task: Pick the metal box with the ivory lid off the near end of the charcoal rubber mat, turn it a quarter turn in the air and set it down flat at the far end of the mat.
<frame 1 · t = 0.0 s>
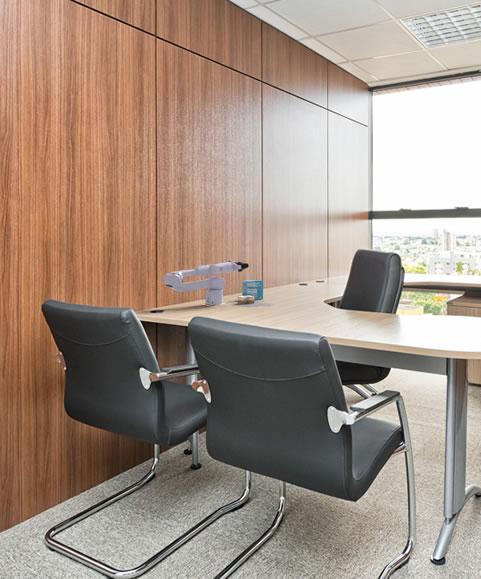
hand: (244, 264, 318), 22 cm above the table, tool horizontal, fingers open, 7 cm apart
desk mat: (252, 305, 307), on the table
data package: (252, 300, 329), on the table
metal box: (246, 303, 310), point 1 cm above the table, touching desk mat
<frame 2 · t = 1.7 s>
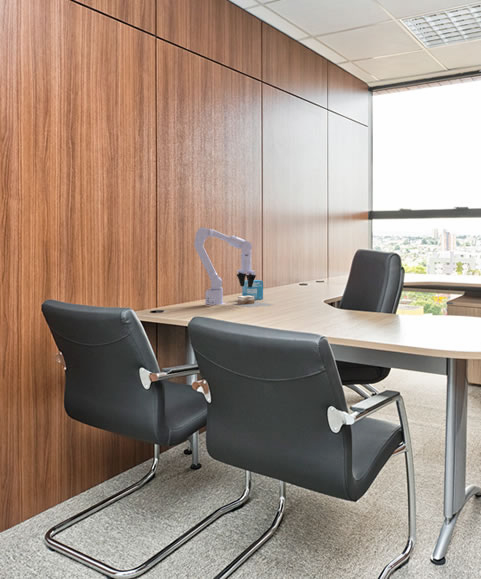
hand: (246, 286, 310), 10 cm above the table, tool pointing down, fingers open, 7 cm apart
nothing on the table moved.
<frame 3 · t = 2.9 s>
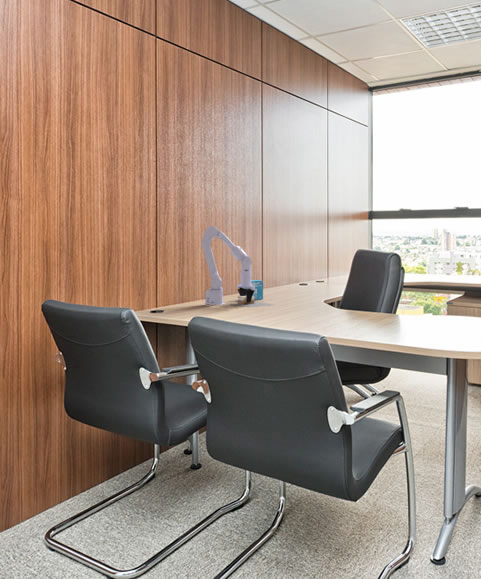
hand: (246, 301, 310), 2 cm above the table, tool pointing down, fingers closed on metal box, 5 cm apart
metal box: (246, 303, 310), point 1 cm above the table, touching desk mat, gripper
everything else where it was.
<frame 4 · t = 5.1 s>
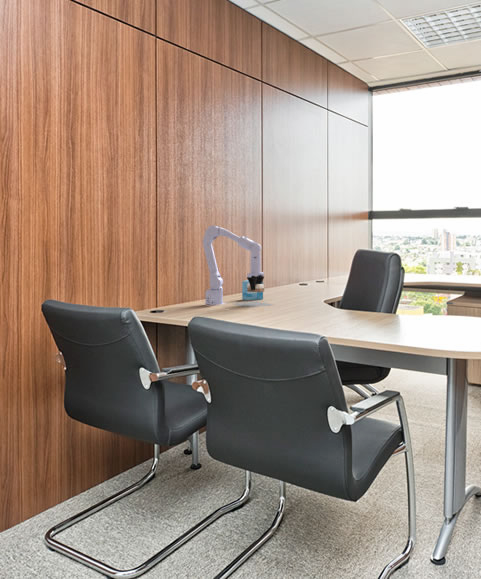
hand: (255, 289, 306), 9 cm above the table, tool pointing down, fingers closed on metal box, 5 cm apart
metal box: (255, 291, 306), point 8 cm above the table, touching gripper
everything else where it was.
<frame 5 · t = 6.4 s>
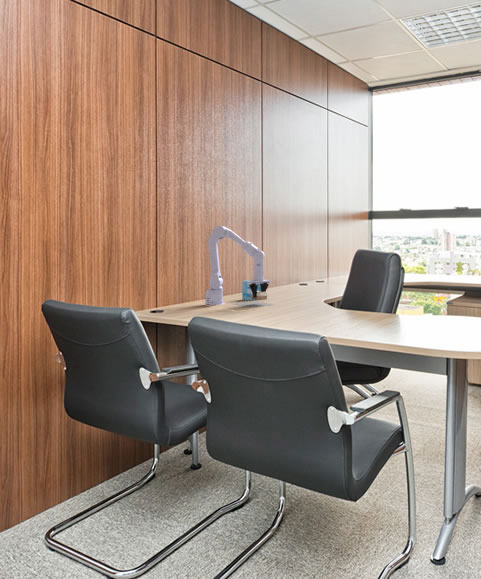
hand: (258, 296, 305), 5 cm above the table, tool pointing down, fingers closed on metal box, 5 cm apart
metal box: (258, 298, 305), point 4 cm above the table, touching gripper
everything else where it was.
when the fingers open (3 cm above the table, at t = 7.3 s): metal box drops 1 cm, resting on desk mat.
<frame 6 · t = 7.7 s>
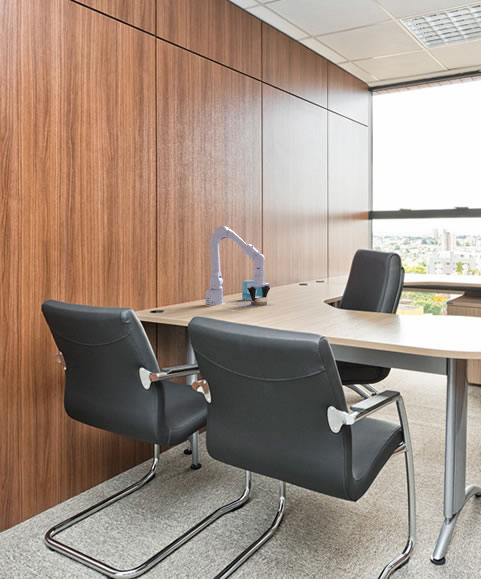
hand: (258, 300, 305), 3 cm above the table, tool pointing down, fingers open, 7 cm apart
metal box: (258, 304, 306), point 1 cm above the table, touching desk mat
everything else where it was.
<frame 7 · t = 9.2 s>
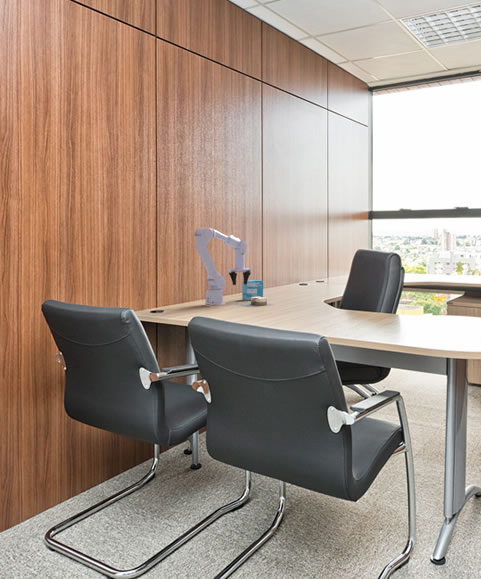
hand: (239, 284, 318), 10 cm above the table, tool pointing down, fingers open, 7 cm apart
nothing on the table moved.
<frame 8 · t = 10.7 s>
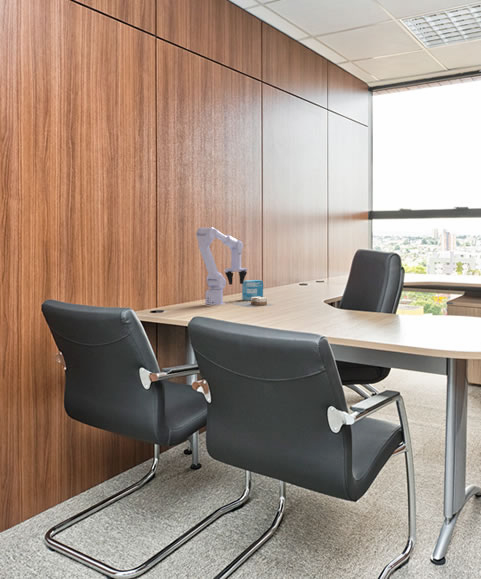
hand: (236, 284, 321), 10 cm above the table, tool pointing down, fingers open, 7 cm apart
nothing on the table moved.
at the end: metal box 0.1 cm from the target spot, point 0.6 cm above the table; metal box tilted 0°; the gripper is holding nothing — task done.
